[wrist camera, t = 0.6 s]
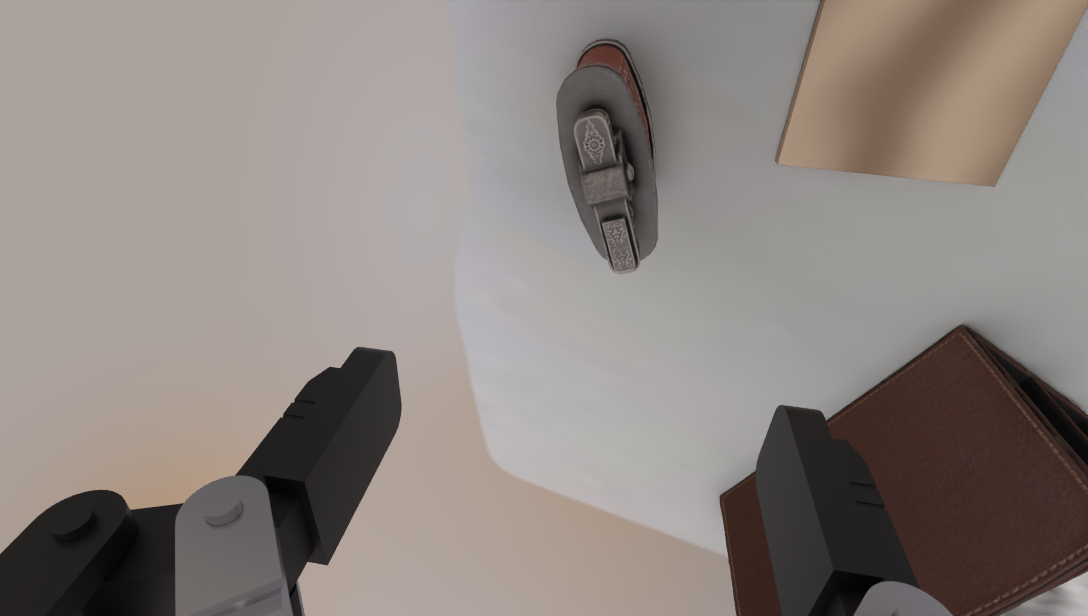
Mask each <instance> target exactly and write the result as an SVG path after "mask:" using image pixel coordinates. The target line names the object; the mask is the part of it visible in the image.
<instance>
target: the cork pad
mask: <svg viewBox="0 0 1088 616" xmlns="http://www.w3.org/2000/svg"><path fill="white" fill-rule="evenodd" d="M1087 7H1088V0H821V3H820V6H819V10H818V13H817V17H816V20H815V24H814V27H813V31H812V34H811V38H810V41H809V45H808V48H807V52H806V55H805V59H804V62H803V66H802V69H801V73H800V76H799V80H798V83H797V87H796V90H795V94H794V97H793V100H792V104H791V107H790V111H789V114H788V118H787V121H786V125H785V128H784V132H783V135H782V139H781V142H780V146H779V149H778V153H777V156H776V160H775V161H776V163H777V164H778V165H787V166H797V167H807V168H817V169H827V170H836V171H846V172H856V173H866V174H876V175H885V176H895V177H905V178H915V179H925V180H934V181H944V182H954V183H964V184H974V185H983V186H993V187H995V185H996V183H997V181H998V179H999V177H1000V175H1001V173H1002V171H1003V170H1004V168H1005V166H1006V164H1007V162H1008V160H1009V158H1010V156H1011V154H1012V152H1013V150H1014V148H1015V146H1016V144H1017V143H1018V141H1019V139H1020V137H1021V135H1022V133H1023V131H1024V129H1025V127H1026V125H1027V123H1028V121H1029V119H1030V117H1031V116H1032V114H1033V112H1034V110H1035V108H1036V106H1037V104H1038V102H1039V100H1040V98H1041V96H1042V94H1043V92H1044V90H1045V88H1046V87H1047V85H1048V83H1049V81H1050V79H1051V77H1052V75H1053V73H1054V71H1055V69H1056V67H1057V65H1058V63H1059V61H1060V60H1061V58H1062V56H1063V54H1064V52H1065V50H1066V48H1067V46H1068V44H1069V42H1070V40H1071V38H1072V36H1073V34H1074V32H1075V31H1076V29H1077V27H1078V25H1079V23H1080V21H1081V19H1082V17H1083V15H1084V13H1085V11H1086V9H1087Z"/></svg>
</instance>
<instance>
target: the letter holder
mask: <svg viewBox="0 0 1088 616" xmlns="http://www.w3.org/2000/svg"><path fill="white" fill-rule="evenodd" d="M826 423H827V425H828V428H829V431H830V433H831V436H832V438H834V439H841V440H847V441H848V442H849V443H850V444H851V446H852V447H853V448H854V449H855V450H856V451H857V452H858V453H859V454H860V456H861V457H862V458H863V459H864V460H865V461H866V462H867V464H868V467H869V469H870V471H871V474H872V476H873V479H874V481H875V483H876V490H878V491H879V493H880V495H881V497H882V500H883V502H884V504H885V507H884V509H885V510H887V512H888V514H889V516H890V519H891V521H892V523H893V526H894V528H895V530H896V533H897V535H898V538H899V540H900V542H901V545H902V547H903V549H904V552H905V554H906V556H907V559H908V561H909V563H910V566H911V568H912V571H913V573H914V575H915V578H916V580H917V582H918V585H919V587H920V589H921V590H922V591H924V592H925V593H927V594H929V595H930V596H932V597H933V598H934V599H936V600H937V601H939V602H940V603H941V604H942V605H943V606H944V607H945V608H946V609H947V610H948V611H949V612H950V613H951V614H952V615H953V616H1000V615H1002V614H1003V613H1005V612H1007V611H1009V610H1012V609H1014V608H1016V607H1017V606H1019V605H1021V604H1022V603H1024V602H1026V601H1028V600H1030V599H1032V598H1034V597H1036V596H1038V595H1040V594H1042V593H1044V592H1047V591H1049V590H1051V589H1053V588H1055V587H1057V586H1059V585H1061V584H1063V583H1066V582H1068V581H1069V580H1071V579H1073V578H1075V577H1077V576H1080V575H1082V574H1083V573H1085V572H1087V571H1088V415H1087V414H1086V413H1085V412H1084V411H1082V410H1081V409H1080V408H1078V407H1077V406H1075V405H1074V404H1073V403H1071V402H1070V401H1069V400H1068V399H1066V398H1065V397H1064V396H1062V395H1060V394H1059V393H1057V392H1056V391H1055V390H1053V389H1052V388H1051V387H1049V386H1048V385H1047V384H1045V383H1044V382H1043V381H1041V380H1040V379H1038V378H1037V377H1036V376H1034V375H1033V374H1032V373H1030V372H1029V371H1028V370H1026V369H1025V368H1024V367H1022V366H1021V365H1020V364H1018V363H1017V362H1016V361H1014V360H1013V359H1011V358H1010V357H1009V356H1007V355H1006V354H1004V353H1003V352H1002V351H1000V350H999V349H998V348H996V347H995V346H994V345H992V344H991V343H989V342H988V341H987V340H985V339H984V338H982V337H981V336H980V335H978V334H977V333H975V332H974V331H972V330H971V329H969V328H966V327H963V326H961V327H958V328H957V329H956V330H955V331H954V332H952V333H951V334H949V335H948V336H947V337H946V338H944V339H943V340H942V341H940V342H939V343H938V344H936V345H935V346H934V347H932V348H931V349H930V350H928V351H927V352H925V353H924V354H923V355H921V356H920V357H918V358H917V359H916V360H914V361H913V362H911V363H910V364H909V365H907V366H906V367H904V368H903V369H902V370H900V371H899V372H897V373H896V374H895V375H893V376H892V377H890V378H889V379H888V380H886V381H885V382H883V383H882V384H880V385H879V386H877V387H876V388H875V389H873V390H872V391H870V392H869V393H867V394H866V395H864V396H863V397H861V398H860V399H859V400H857V401H856V402H854V403H853V404H851V405H850V406H849V407H847V408H846V409H844V410H843V411H841V412H840V413H839V414H837V415H836V416H834V417H833V418H832V419H830V420H829V421H827V422H826ZM720 506H721V511H722V517H723V523H724V530H725V537H726V546H727V552H728V558H729V565H730V570H731V578H732V586H733V594H734V601H735V609H736V615H737V616H782V612H781V607H780V602H779V597H778V592H777V587H776V582H775V577H774V572H773V567H772V562H771V557H770V552H769V548H768V543H767V538H766V533H765V528H764V523H763V518H762V513H761V508H760V503H759V498H758V493H757V487H756V472H755V473H753V474H752V475H750V476H749V477H748V478H746V479H745V480H743V481H742V482H741V483H739V484H738V485H736V486H735V487H733V488H732V489H731V490H729V491H728V492H726V493H725V494H723V495H722V496H720Z"/></svg>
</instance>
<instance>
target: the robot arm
mask: <svg viewBox="0 0 1088 616" xmlns="http://www.w3.org/2000/svg"><path fill="white" fill-rule="evenodd" d="M400 417H401V396H400V389H399V380H398V372H397V364H396V357H395V354H394V353H393V352H392V351H386V350H379V349H371V348H364V347H357V348H356V349H354V350H353V352H352V353H351V354H350V356H349V357H348V359H347V360H346V361H345V363H344V364H343V365H342V367H341V368H334V367H329V368H327V369H326V370H324V371H323V372H322V373H320V374H318V375H317V376H316V377H314V378H313V379H311V380H310V381H308V383H307V384H306V385H305V386H304V388H303V389H302V390H301V392H300V393H299V394H298V396H297V397H296V398H295V402H294V403H291V404H290V406H289V407H288V408H287V410H286V411H285V412H284V414H283V418H280V419H279V420H278V421H277V423H276V424H275V425H274V426H273V428H272V429H271V430H270V432H269V433H268V434H267V436H266V437H265V438H264V439H263V441H262V442H261V443H260V445H259V446H258V447H257V448H256V450H255V451H254V452H253V454H252V455H251V456H250V457H249V459H248V460H247V461H246V463H245V464H244V465H243V467H242V468H241V469H240V470H239V472H238V473H237V474H236V475H235V476H230V477H225V478H221V479H219V480H216V481H213V482H211V483H209V484H207V485H205V486H203V487H202V488H200V489H199V490H197V491H196V492H195V493H194V494H192V495H191V496H190V497H189V498H188V499H187V500H186V501H185V503H182V504H175V505H167V506H159V507H150V508H143V509H135V510H130V509H129V507H128V505H127V504H126V502H125V500H124V499H123V497H122V496H121V495H119V494H118V493H115V492H113V491H108V490H93V491H87V492H83V493H80V494H76V495H73V496H71V497H69V498H66V499H64V500H62V501H60V502H59V503H56V504H55V505H53V506H51V507H50V508H48V509H47V510H45V511H44V512H43V513H42V514H40V515H39V516H38V517H37V518H36V519H35V520H34V521H33V522H32V523H31V524H30V525H29V526H28V527H27V528H26V529H25V530H24V531H23V532H22V533H21V534H20V535H19V536H18V537H17V538H16V539H15V540H14V541H13V542H12V543H11V544H10V545H9V546H8V547H7V548H6V549H5V550H4V551H3V552H2V553H1V554H0V616H305V614H304V608H303V603H302V598H301V593H300V587H299V583H298V578H299V576H300V574H301V573H302V571H303V569H304V567H305V565H306V563H307V562H312V563H318V564H323V565H328V564H329V561H330V560H331V558H332V556H333V554H334V552H335V550H336V548H337V546H338V544H339V542H340V540H341V538H342V536H343V535H344V533H345V530H346V528H347V527H348V525H349V523H350V521H351V519H352V517H353V515H354V513H355V511H356V509H357V507H358V505H359V503H360V501H361V499H362V498H363V496H364V494H365V492H366V490H367V488H368V486H369V484H370V482H371V480H372V478H373V476H374V474H375V472H376V470H377V468H378V466H379V465H380V462H381V460H382V459H383V457H384V455H385V452H386V451H387V449H388V447H389V445H390V443H391V441H392V439H393V437H394V435H395V433H396V431H397V428H398V426H399V421H400ZM756 487H757V493H758V498H759V503H760V508H761V513H762V518H763V523H764V528H765V533H766V538H767V543H768V548H769V552H770V557H771V562H772V567H773V572H774V577H775V582H776V587H777V592H778V597H779V602H780V607H781V612H782V616H953V615H952V614H951V613H950V612H949V611H948V610H947V609H946V608H945V607H944V606H943V605H942V604H941V603H940V602H939V601H937V600H936V599H934V598H933V597H932V596H930V595H929V594H927V593H925V592H924V591H922V590H921V589H920V587H919V585H918V582H917V580H916V578H915V575H914V573H913V571H912V568H911V566H910V563H909V561H908V559H907V556H906V554H905V552H904V549H903V547H902V545H901V542H900V540H899V538H898V535H897V533H896V530H895V528H894V526H893V523H892V521H891V519H890V516H889V514H888V512H887V510H885V509H884V507H885V504H884V502H883V500H882V497H881V495H880V493H879V491H878V490H876V483H875V481H874V479H873V476H872V474H871V471H870V469H869V467H868V464H867V462H866V461H865V460H864V459H863V458H862V457H861V456H860V454H859V453H858V452H857V451H856V450H855V449H854V448H853V447H852V446H851V444H850V443H849V442H848V441H847V440H841V439H834V438H832V436H831V433H830V431H829V428H828V425H827V423H826V420H825V417H824V415H823V413H822V412H821V411H820V410H815V409H807V408H800V407H793V406H785V405H780V406H778V407H777V409H776V411H775V413H774V416H773V418H772V421H771V424H770V427H769V429H768V432H767V435H766V437H765V440H764V443H763V446H762V448H761V451H760V454H759V457H758V460H757V466H756Z"/></svg>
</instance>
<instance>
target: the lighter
mask: <svg viewBox="0 0 1088 616" xmlns="http://www.w3.org/2000/svg"><path fill="white" fill-rule="evenodd" d="M556 107H557V118H558V129H559V140H560V148H561V152H562V157H563V162H564V167H565V171H566V176H567V181H568V185H569V188H570V191H571V193H572V196H573V199H574V201H575V204H576V207H577V210H578V212H579V215H580V218H581V220H582V222H583V224H584V226H585V228H586V230H587V232H588V234H589V236H590V238H591V240H592V242H593V244H594V246H595V248H596V250H597V251H598V252H599V254H600V255H601V256H602V257H603V258H605V259H607V260H608V262H609V265H610V268H611V270H612V271H613V272H615V273H618V274H625V273H630V272H633V271H636V270H637V269H638V268H639V265H640V260H642V259H644V258H645V257H647V256H648V255H650V254H651V252H652V251H653V249H654V248H655V247H656V243H657V239H658V200H657V190H656V182H655V143H654V135H653V127H652V119H651V113H650V110H649V106H648V103H647V99H646V95H645V92H644V88H643V84H642V82H641V79H640V77H639V74H638V72H637V69H636V67H635V65H634V62H633V60H632V57H631V55H630V52H629V51H628V49H627V48H626V46H625V45H624V44H622V43H620V42H619V41H617V40H613V39H608V38H607V39H600V40H596V41H594V42H592V43H590V44H589V45H588V46H587V47H586V48H585V49H584V50H583V51H582V52H581V54H580V55H579V57H578V59H577V61H576V65H575V70H574V71H573V72H572V73H571V74H570V75H569V76H568V77H567V78H566V79H565V80H564V82H563V84H562V86H561V88H560V90H559V92H558V93H557V102H556Z"/></svg>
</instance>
